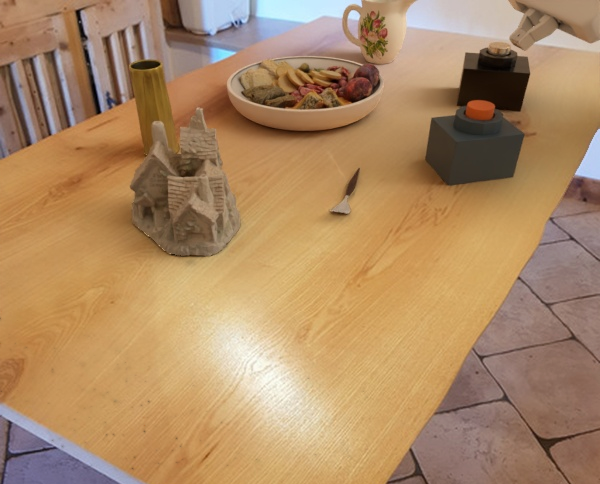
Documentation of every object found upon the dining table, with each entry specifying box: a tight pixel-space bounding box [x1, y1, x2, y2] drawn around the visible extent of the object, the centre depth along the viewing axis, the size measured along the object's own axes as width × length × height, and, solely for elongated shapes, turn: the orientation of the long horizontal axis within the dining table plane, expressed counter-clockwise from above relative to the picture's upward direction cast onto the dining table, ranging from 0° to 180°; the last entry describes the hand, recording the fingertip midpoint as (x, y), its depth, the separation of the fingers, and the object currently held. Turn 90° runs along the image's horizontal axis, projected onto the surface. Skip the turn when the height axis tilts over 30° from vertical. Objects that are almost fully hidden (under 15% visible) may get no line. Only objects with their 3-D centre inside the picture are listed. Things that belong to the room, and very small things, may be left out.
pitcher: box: [341, 0, 418, 65], centre depth 125 cm, size 11×18×14 cm, turn 61°
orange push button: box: [465, 100, 495, 120], centre depth 82 cm, size 4×4×2 cm
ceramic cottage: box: [129, 106, 242, 257], centre depth 72 cm, size 16×16×15 cm
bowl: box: [226, 55, 385, 132], centre depth 106 cm, size 30×30×8 cm
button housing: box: [424, 106, 526, 187], centre depth 85 cm, size 11×9×9 cm
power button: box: [487, 41, 512, 57], centre depth 104 cm, size 4×4×2 cm
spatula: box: [328, 167, 361, 215], centre depth 81 cm, size 3×16×2 cm, turn 164°
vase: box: [128, 58, 180, 156], centre depth 89 cm, size 6×6×14 cm
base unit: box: [456, 46, 531, 112], centre depth 107 cm, size 12×10×9 cm
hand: (516, 45), depth 76 cm, fingers closed
